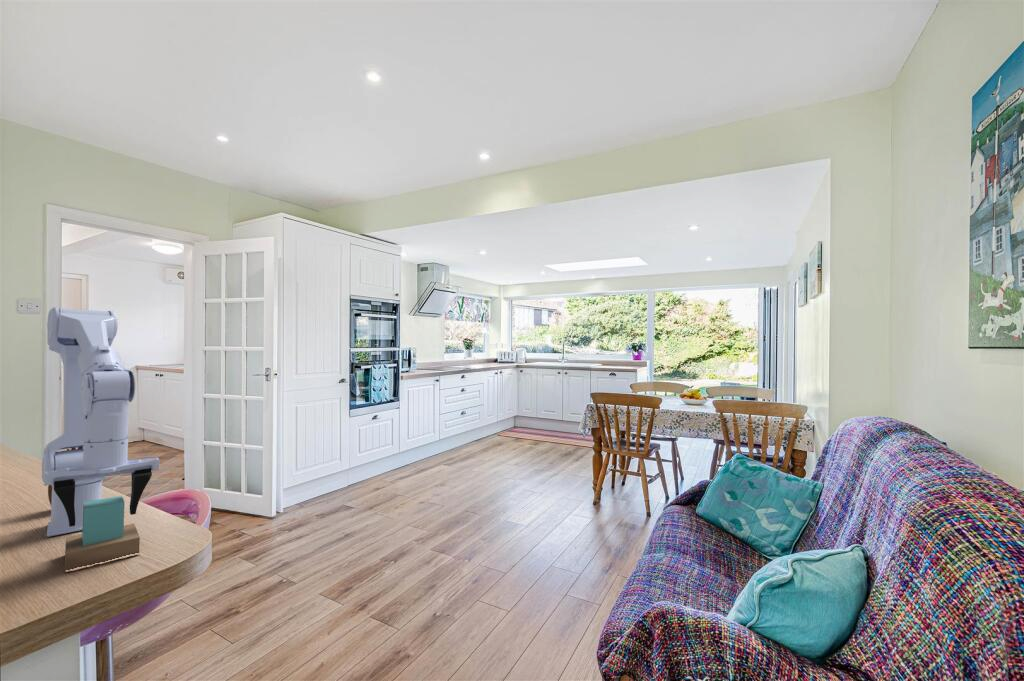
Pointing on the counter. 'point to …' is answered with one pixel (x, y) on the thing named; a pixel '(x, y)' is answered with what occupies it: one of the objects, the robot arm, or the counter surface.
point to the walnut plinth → (100, 549)
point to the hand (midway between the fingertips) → (103, 518)
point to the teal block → (103, 520)
